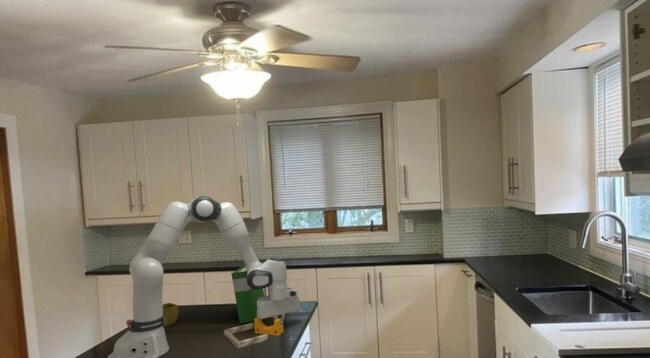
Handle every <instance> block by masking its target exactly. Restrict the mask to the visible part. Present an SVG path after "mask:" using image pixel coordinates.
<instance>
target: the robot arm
mask: <svg viewBox="0 0 650 358" xmlns="http://www.w3.org/2000/svg"><path fill="white" fill-rule="evenodd" d="M190 221H194V222H199V223H205V222H211V221H212V222H214V223H215V224H216V226H217V228H218V230H219V231H220V233H221V236H222V237H223V239H224V240H225V242H226V243H227V244H228V245H229V246H231V247H233V248H235V249H236V251H238V253H239V255H240V257H241V259H242V261H243V263H244V266H245V265H246V269H247V270H246V272H247V284H248V285H249V287H250V288H252V289H255V290H259V289H263V290H264V289H266V288H267V295H264V296H265V297H260V298H259V299H260V300H259V299H258V300H257V317H258V318H260V319H261V320H263V319H267V318H273V319H274V320H276V319H281V325H284V319H285V317H286V314H288V313H292V312H293V313H294V312H297V311H299V310H300V308H301V302H300V297H299V296H298V295H299V292H298V290H296V289H293V288H291V287H288V284H287V279H288V274H287V273H288V271H287V265H286V264H287V263H286V262H285V260H283V259H282V258H279V257H269V258H268V259H267V260H265V262H262V261H261V260H260V259H259V257H258V256H257V254H256V252H255V251H254V248H253V247H252V244H251V242H250V235H249V232H248V229H247V225H246V223H245V221H244V219H243V216H241V214H240V212H239V211H238V209H237V207H236V206H235V205H234V204H233V203H232V202H229V201H226V202H221V203H219V202H218V201H216V200H215V199H213V198H212V197H210V196H207V195H202V196H201V195H200V196H198V197H195V198H194V199H192V200H191V201H189V202H188V203H184V202H181V201H172V202H170V203H169V204H168V205H167V206H166V208H165V209H164V210H163V212H162V213H161V214H160V216H159V217H158V219H157V221H156V223H155V224H154V227H153V228H152V230H151V232H150V233H149V235H148V237H147V238H146V240H145V241H144V242H143V244H142V245H141V247H140V248H139V250H138V251H137V252H136V254H135V255H134V257H133V258H132V260H131V262H130V264H129V268H128V269H129V270H128V272H129V274H130V276H131V278H132V314H133V315H132V316H133V317H132V318H133V319H127V320H126V322H125V323H126V326H127V328H128V330H127V331H126V332H125V333H124V334H123V335H121V336H120V337H119V338H118V339H117V340H116V341H115V343H114V345H113V350H112V351H113V352H111V353H110V354H109V355H108V356H107V358H159V357H161V356H162V355H164V354H165V353H168V351H169V350H170V346H169V344H168V340H167V337H166V336H167V335H166V332H165V331H166V330H165V328H166V327H165V317H164V314H163V289H164V267H163V265H162V264H163V263H164V261H165V259H166V258H167V257H168V256H169V254H170V253H171V252H172V251H173V250H174V248H175V247H176V244H177V243H178V241H179V239H180V237H181V235H182V233H183V231H184V230H185V228H186V226H187V225H188V223H190ZM278 316H280V318H278Z"/></svg>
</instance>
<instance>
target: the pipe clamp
mask: <svg viewBox="0 0 650 358" xmlns="http://www.w3.org/2000/svg"><path fill="white" fill-rule="evenodd" d="M253 324H254V333H255V334H260V335H265V334H267V335H268V336H270V335H271V336H280V335H281V334H283V333H284V332H285V331H284V324H281V319H280V318H277V319H276V320H275V319H274V320H273V325H269V326H268V325H266V324H265V323H264V322H263V319H260V318H258V317H256V318H255V319H254V322H253Z"/></svg>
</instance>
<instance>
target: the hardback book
mask: <svg viewBox="0 0 650 358" xmlns="http://www.w3.org/2000/svg"><path fill="white" fill-rule="evenodd" d="M246 270H247V269H246V265H245V264H244V266H241V267H240V268H238V269H236V270H235V271H233V272H231V273H230V274H231V280H232V284H233V285H232V286H233V291H234V297H235V304H236V309H237V313H238V320H239V324H244V323H246V324H248V323H254V319H255V318H256V317H257V300H258V299H259V298H260V297H265V296H266V295H265V291H264V288H263V289H259V290H255V289H252V288H250V287H249V285H248V284H247V272H246ZM259 300H260V299H259Z"/></svg>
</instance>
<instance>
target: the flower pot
mask: <svg viewBox="0 0 650 358" xmlns="http://www.w3.org/2000/svg"><path fill="white" fill-rule="evenodd" d="M163 314H164V317H165V328H167V327H169V326H172V325H174V324H175V323H176V321H177V319H178V317H179V316H178V314H179V305H178V304H175V303H172V302H166V303H164V304H163Z"/></svg>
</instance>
